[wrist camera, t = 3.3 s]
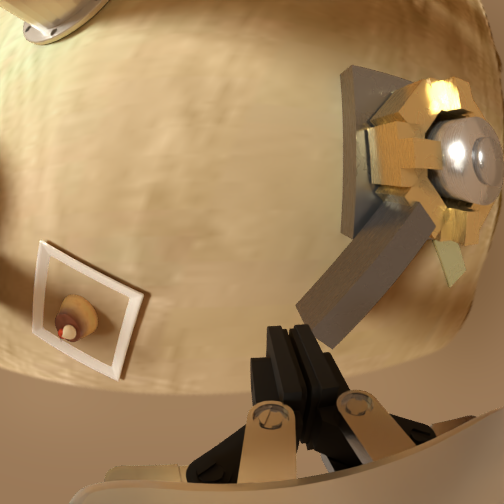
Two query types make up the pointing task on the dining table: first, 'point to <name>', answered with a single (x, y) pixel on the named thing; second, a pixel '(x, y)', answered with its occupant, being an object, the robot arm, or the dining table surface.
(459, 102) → the ring nut
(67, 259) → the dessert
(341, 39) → the dining table surface
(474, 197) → the housing
